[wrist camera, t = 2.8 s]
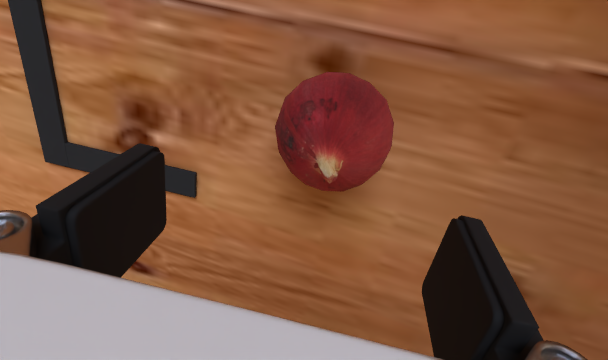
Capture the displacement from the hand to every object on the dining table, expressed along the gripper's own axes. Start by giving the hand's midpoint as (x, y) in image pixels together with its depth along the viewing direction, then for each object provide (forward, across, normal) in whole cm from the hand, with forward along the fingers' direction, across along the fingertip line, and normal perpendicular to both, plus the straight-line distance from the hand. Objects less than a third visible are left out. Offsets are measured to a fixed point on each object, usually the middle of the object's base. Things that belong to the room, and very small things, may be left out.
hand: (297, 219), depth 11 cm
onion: (+11, 0, -1) cm, 11 cm away
